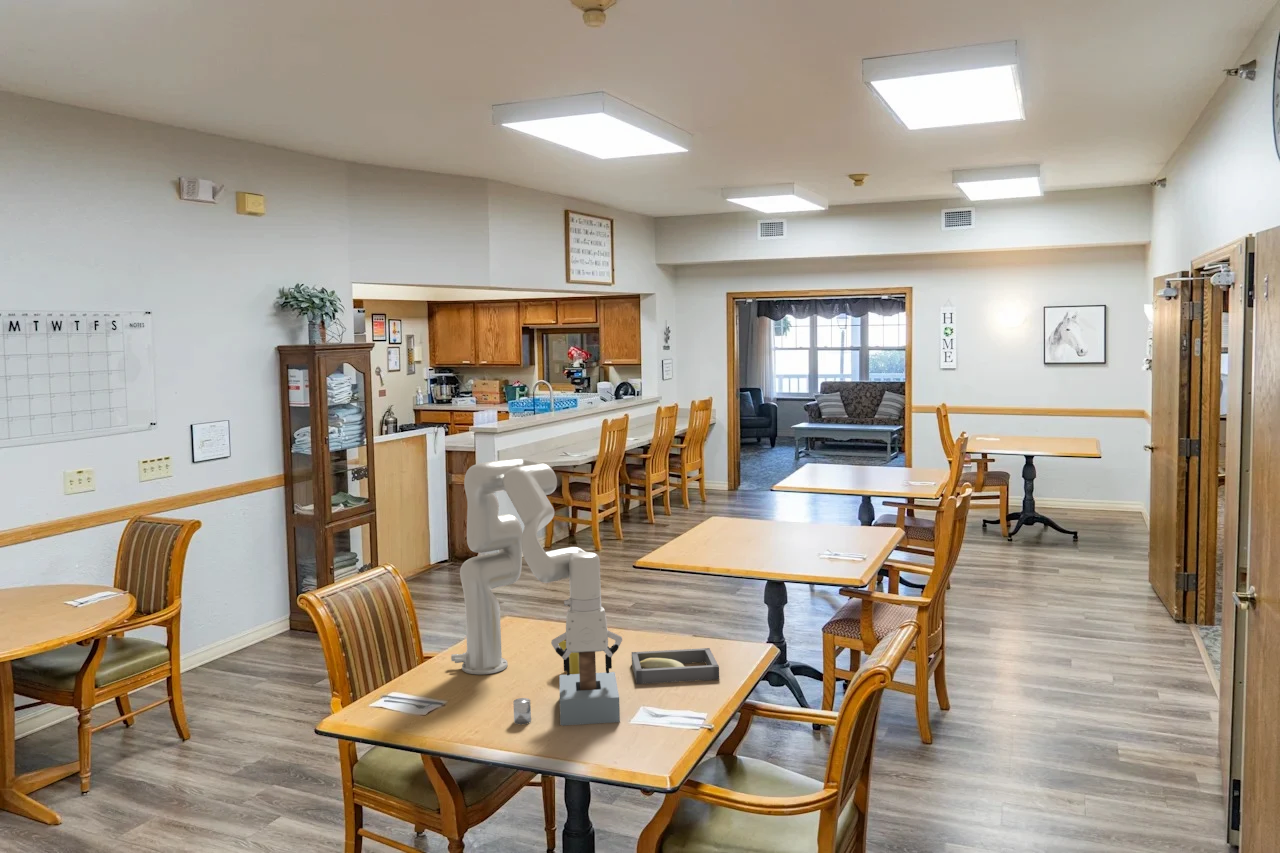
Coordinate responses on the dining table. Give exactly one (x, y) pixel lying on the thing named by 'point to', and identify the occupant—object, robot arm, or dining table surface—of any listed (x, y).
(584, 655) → the long walnut pin
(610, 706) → the hole block
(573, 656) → the plant pot
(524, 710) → the short steel pin
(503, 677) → the dining table surface
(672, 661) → the fruit
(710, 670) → the tray
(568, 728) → the dining table surface
